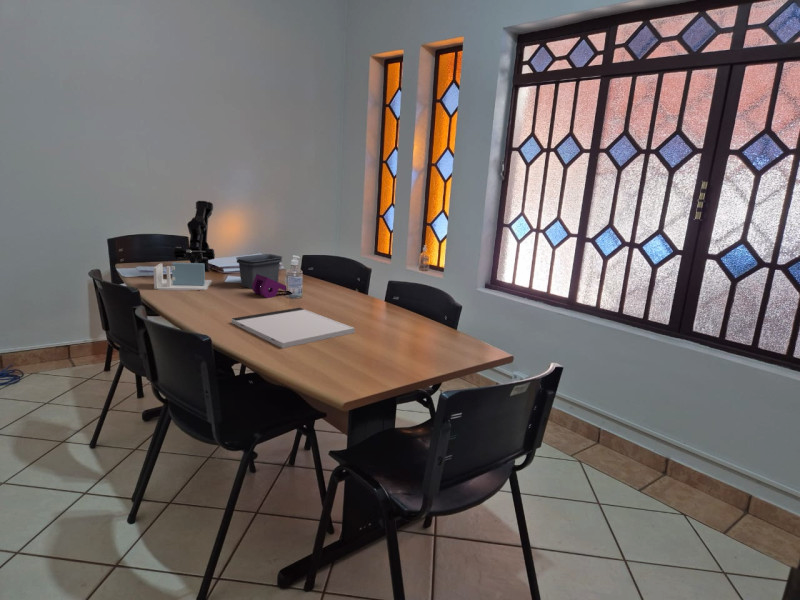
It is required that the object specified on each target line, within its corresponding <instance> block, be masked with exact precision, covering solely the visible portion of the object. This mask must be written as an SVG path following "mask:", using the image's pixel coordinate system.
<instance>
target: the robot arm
mask: <svg viewBox="0 0 800 600" xmlns="http://www.w3.org/2000/svg"><path fill="white" fill-rule="evenodd" d="M195 209H196V211H195V215H194V216H193V217H192V218H191V220H190V221H188V223H187V229H188V230H187V231H188V234H189V236H190V237H189V243H188V244H189V245H188V249H185V250H184V249H183V247H173V250H172V252H173V255H174V258H176V259H183V258H184V257H186V259H187V260H188V261H189V263H204V265H205V272H210V268H209V261H210V260H215V257H216V256H215V255H216V253H215V249H214V248H210V245H209V243H208V228H209V219H210V218H211V216H212V215H213V211H214V204H213V202H211V201H206V200H198V201H197V200H196V202H195Z"/></svg>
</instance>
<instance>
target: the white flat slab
mask: <svg viewBox="0 0 800 600" xmlns="http://www.w3.org/2000/svg"><path fill="white" fill-rule="evenodd" d="M230 323H231V324H232V325H234V324H235V326H237V327H239V328H241V329H243V330H245V331H247V332H249V333H251V334H253V335H255V336H257V337H259V338H260V339H263V340H265V341H266V342H267V341H268V342H269V343H271V344H273V345H275V346H277V347H279V348H281V349H285V348H290V347H296V346H301V345H303V344H304V345H305V344H309V343H314V342H318V341H323V340H328V339H333V338H337V337H341V336H342V337H343V336H345V335H350V334H351V335H352V334H355V333H356V332H355V327H354V326H350V325H347V324H345V323H343V322H339V321H337V320H334V319H331V318H329V317H326V316H323V315H320V314H318V313H315V312H313V311H310V310H307V309H304V308H302V307H296V308H289V309H282V310H276V311H269V312H265V313H263V312H262V313H257V314H251V315H244V316H238V317H233V318H231V322H230Z"/></svg>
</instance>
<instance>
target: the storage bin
mask: <svg viewBox="0 0 800 600" xmlns="http://www.w3.org/2000/svg"><path fill="white" fill-rule="evenodd" d="M282 258H284V256H281V255H276V254H272V253H262V254H253V255H252V254H250V255H244V256H243V255H242V256H237V257H235V259H236V263H237V264H238V265H239V266H238V267H239V276H240V277H239V278H240V284H241V286H242V287H245V288H248V289H251V290H253V289H252V284H253V281H254V279H255V277H256V274H258V275H261V276H264V277H267V278H269V279H272V280H274V281H276V282H279V276H280V274H279V272H280V264H281V262H283V259H282Z"/></svg>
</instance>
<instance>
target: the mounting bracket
mask: <svg viewBox="0 0 800 600" xmlns="http://www.w3.org/2000/svg"><path fill="white" fill-rule="evenodd" d="M260 286H261V287H260ZM286 286H287V285H286V284H283V283H281V282H279V281H278V282H276V281H274V280H272V279H269V278H267V277H264V276H261V275H258V274H256V277H255V279H254V281H253V284H252V289H251V290H252V291H253V292H254V293H255V294H256V295H260V296H262V297H264V298H266V299H270V298H274V297H275V296H276V295H277V294H278V292H279V290H282V291H284V292H287V291H286Z"/></svg>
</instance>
